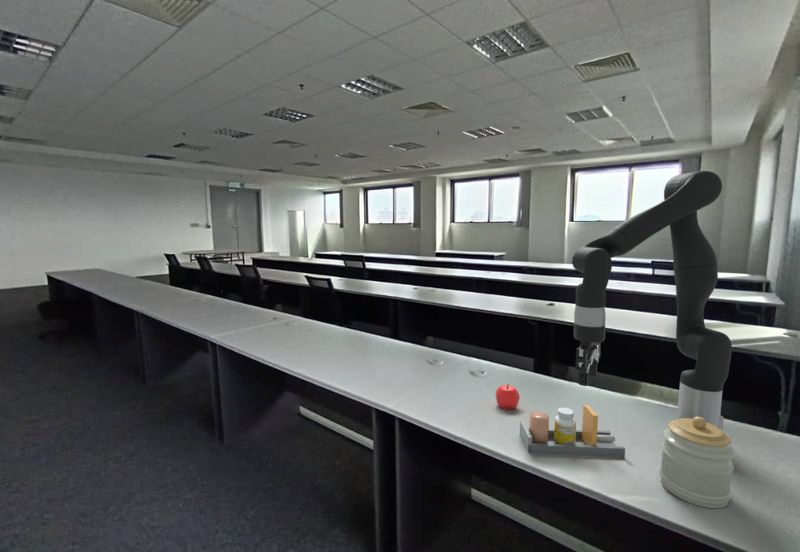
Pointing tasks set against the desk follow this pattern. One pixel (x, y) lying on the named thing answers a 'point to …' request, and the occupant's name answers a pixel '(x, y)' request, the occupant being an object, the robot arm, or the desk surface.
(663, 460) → the jar
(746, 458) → the desk surface
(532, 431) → the terracotta jar
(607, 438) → the pusher plate
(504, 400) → the apple
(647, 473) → the desk surface
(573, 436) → the supplement bottle
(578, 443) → the tray
